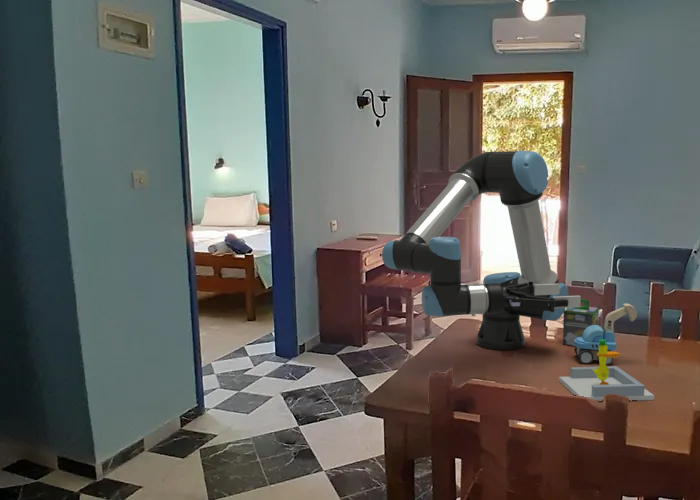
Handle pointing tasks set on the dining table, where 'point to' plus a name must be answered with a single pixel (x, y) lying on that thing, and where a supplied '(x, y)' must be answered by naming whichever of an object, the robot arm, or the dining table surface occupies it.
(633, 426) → the dining table surface
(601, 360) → the toy figure
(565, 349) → the dining table surface
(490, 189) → the robot arm
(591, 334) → the toy excavator
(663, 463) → the dining table surface
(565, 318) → the chalk box
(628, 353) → the dining table surface
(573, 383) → the open-sided tray
